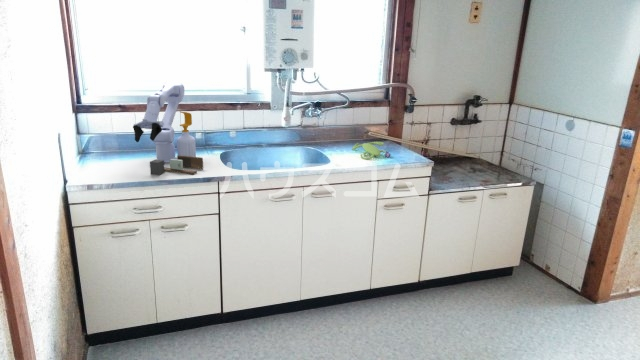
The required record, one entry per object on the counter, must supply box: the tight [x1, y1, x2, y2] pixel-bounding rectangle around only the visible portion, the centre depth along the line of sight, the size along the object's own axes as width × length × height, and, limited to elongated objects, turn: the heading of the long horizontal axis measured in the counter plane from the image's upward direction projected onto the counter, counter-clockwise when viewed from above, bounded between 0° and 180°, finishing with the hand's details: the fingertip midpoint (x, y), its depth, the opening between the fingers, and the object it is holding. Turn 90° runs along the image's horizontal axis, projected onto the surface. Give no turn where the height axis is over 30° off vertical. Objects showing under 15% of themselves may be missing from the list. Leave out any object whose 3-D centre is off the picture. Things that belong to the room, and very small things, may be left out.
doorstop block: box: [149, 158, 166, 176], centre depth 210 cm, size 4×4×6 cm
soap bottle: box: [176, 111, 197, 157], centre depth 233 cm, size 9×9×25 cm
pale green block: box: [169, 159, 184, 170], centre depth 213 cm, size 2×6×4 cm, turn 76°
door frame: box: [164, 154, 204, 176], centre depth 217 cm, size 10×18×6 cm, turn 76°
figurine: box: [351, 141, 392, 161], centre depth 259 cm, size 18×27×6 cm
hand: (144, 140), depth 206 cm, fingers open, 7 cm apart
